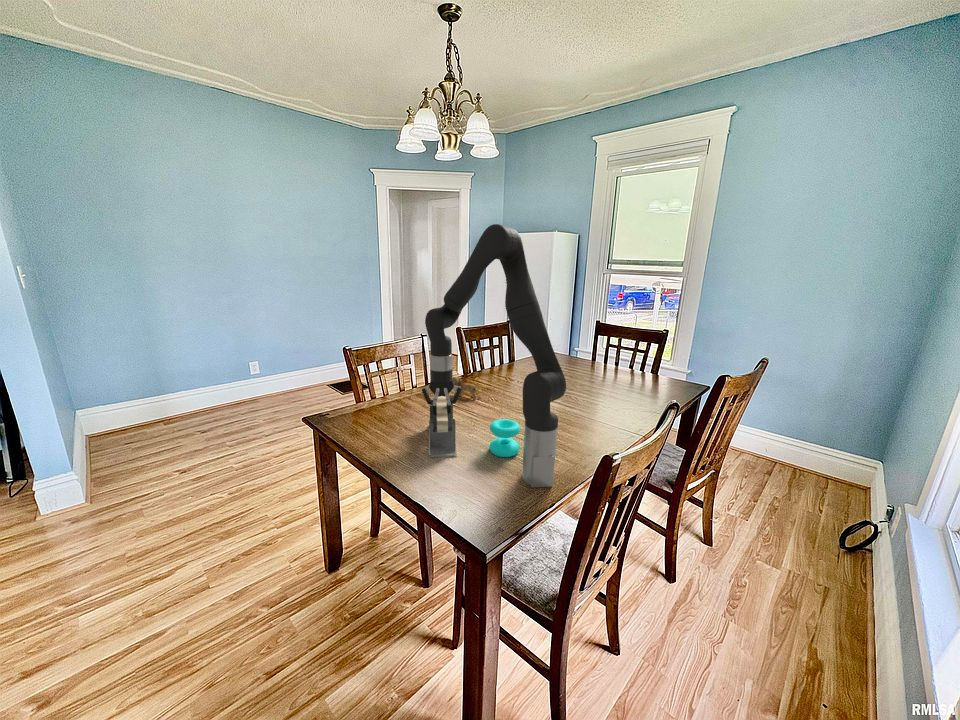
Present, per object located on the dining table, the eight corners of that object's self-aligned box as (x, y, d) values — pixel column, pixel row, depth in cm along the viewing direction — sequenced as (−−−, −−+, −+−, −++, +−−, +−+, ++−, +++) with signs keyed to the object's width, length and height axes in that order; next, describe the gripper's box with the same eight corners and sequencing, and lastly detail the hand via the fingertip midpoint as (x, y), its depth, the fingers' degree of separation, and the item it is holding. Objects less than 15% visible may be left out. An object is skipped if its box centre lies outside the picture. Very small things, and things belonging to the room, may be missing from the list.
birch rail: (448, 432, 123) (447, 420, 122) (437, 432, 122) (436, 421, 121) (445, 406, 144) (445, 396, 143) (436, 406, 143) (436, 396, 142)
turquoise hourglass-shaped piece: (513, 416, 131) (525, 428, 122) (512, 442, 134) (523, 456, 125) (486, 419, 129) (495, 432, 119) (485, 446, 131) (494, 460, 122)
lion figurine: (449, 396, 177) (449, 377, 174) (454, 392, 182) (454, 374, 179) (478, 401, 171) (478, 382, 169) (483, 397, 176) (483, 378, 174)
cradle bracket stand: (456, 456, 124) (456, 426, 121) (428, 457, 123) (428, 427, 120) (453, 424, 147) (452, 399, 144) (429, 425, 146) (428, 399, 143)
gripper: (419, 370, 124) (420, 419, 128) (463, 370, 125) (462, 418, 130) (420, 364, 131) (421, 411, 135) (461, 363, 132) (461, 409, 137)
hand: (441, 414), depth 133 cm, fingers closed on birch rail, 3 cm apart
